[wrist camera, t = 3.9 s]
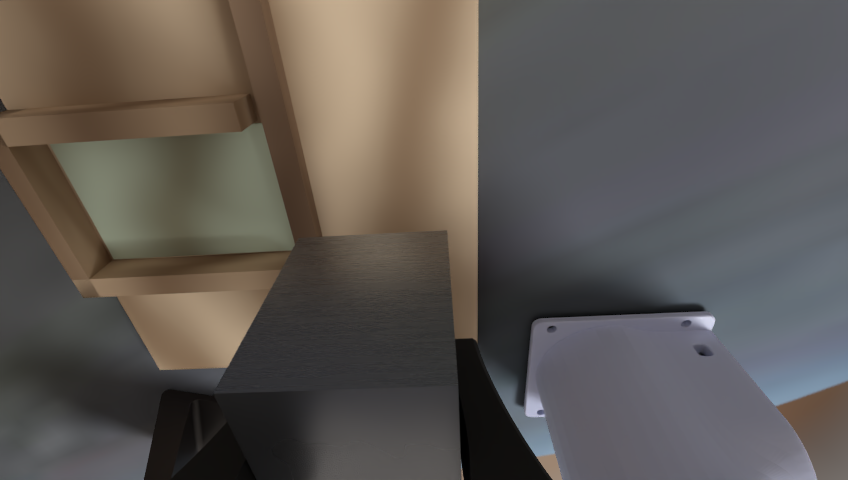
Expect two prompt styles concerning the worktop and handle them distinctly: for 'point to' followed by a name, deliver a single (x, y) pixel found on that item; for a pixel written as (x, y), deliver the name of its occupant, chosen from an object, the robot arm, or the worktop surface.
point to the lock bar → (351, 364)
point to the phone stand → (181, 431)
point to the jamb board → (236, 146)
